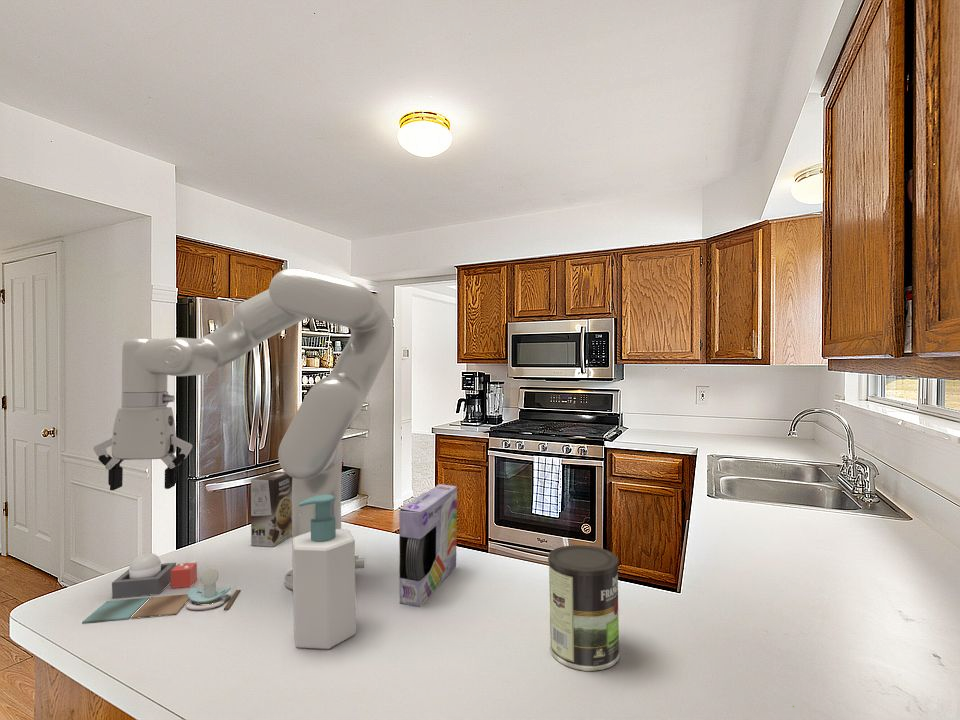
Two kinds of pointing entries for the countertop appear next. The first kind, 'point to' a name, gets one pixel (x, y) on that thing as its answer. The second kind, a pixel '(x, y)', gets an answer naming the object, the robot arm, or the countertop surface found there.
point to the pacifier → (207, 592)
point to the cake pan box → (427, 543)
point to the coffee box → (271, 509)
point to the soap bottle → (323, 581)
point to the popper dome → (145, 566)
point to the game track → (143, 607)
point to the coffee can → (584, 607)
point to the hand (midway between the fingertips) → (143, 488)
